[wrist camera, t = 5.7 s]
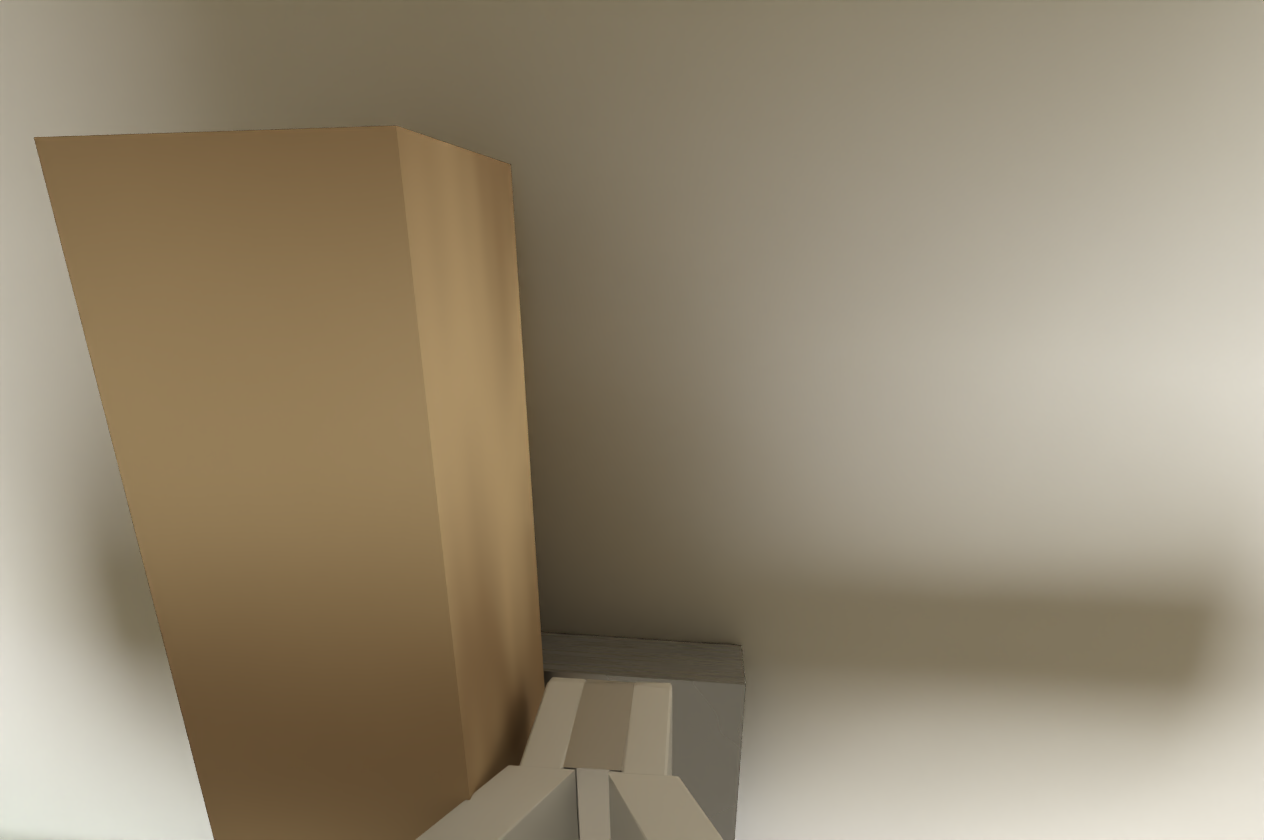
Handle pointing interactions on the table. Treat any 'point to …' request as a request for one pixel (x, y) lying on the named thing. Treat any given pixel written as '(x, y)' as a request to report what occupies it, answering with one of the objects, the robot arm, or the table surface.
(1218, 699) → the table surface
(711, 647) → the pin plate
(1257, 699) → the table surface
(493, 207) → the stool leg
